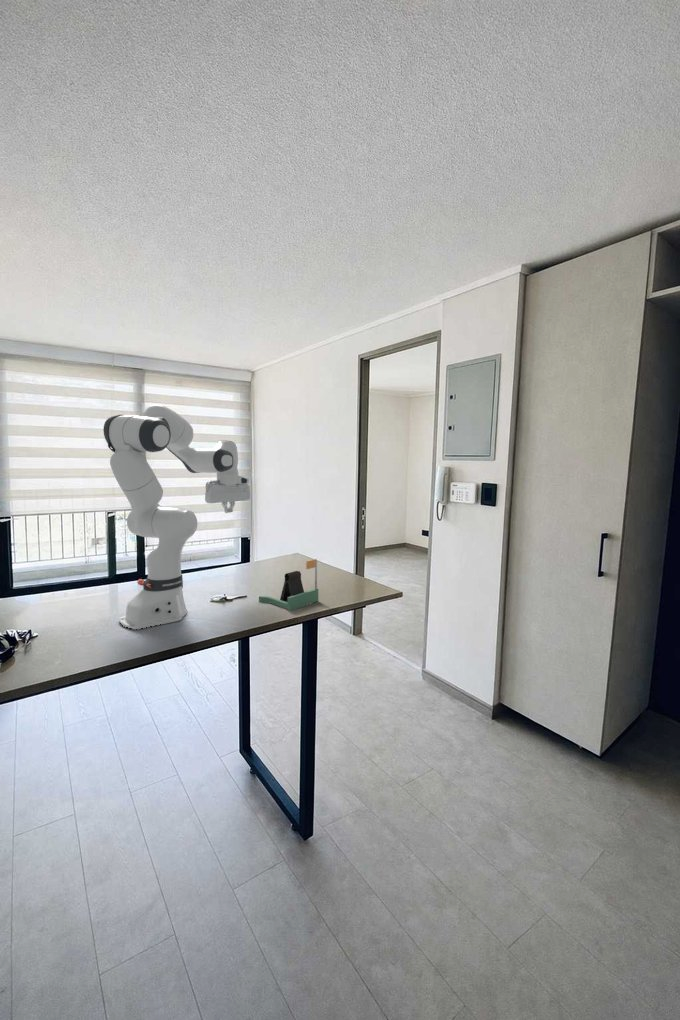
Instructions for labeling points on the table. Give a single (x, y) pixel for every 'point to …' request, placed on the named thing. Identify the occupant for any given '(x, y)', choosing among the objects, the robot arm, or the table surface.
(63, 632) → the table surface
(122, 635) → the table surface
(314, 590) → the putting pocket
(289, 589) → the door stopper
